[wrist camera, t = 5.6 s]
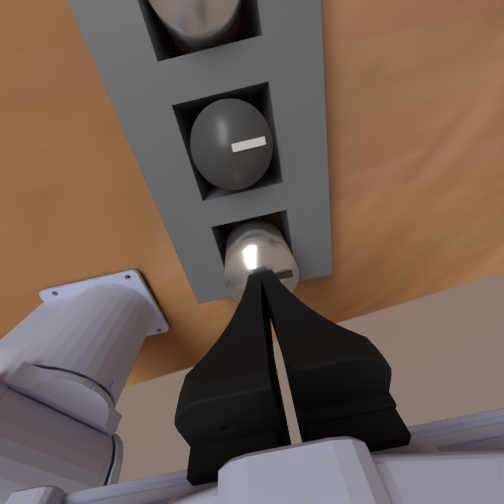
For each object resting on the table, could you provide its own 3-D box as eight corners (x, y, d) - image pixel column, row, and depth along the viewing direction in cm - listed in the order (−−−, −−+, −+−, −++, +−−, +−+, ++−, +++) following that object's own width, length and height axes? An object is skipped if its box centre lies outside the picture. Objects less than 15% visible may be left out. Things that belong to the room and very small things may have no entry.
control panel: (204, 276, 21) (198, 303, 18) (79, -50, 11) (10, -134, 8) (315, 251, 21) (332, 274, 17) (286, -107, 11) (312, -222, 8)
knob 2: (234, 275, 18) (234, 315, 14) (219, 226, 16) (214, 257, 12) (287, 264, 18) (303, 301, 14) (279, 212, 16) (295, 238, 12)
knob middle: (211, 183, 17) (204, 198, 13) (192, 117, 15) (176, 109, 11) (267, 170, 17) (278, 180, 13) (256, 101, 15) (265, 88, 11)
